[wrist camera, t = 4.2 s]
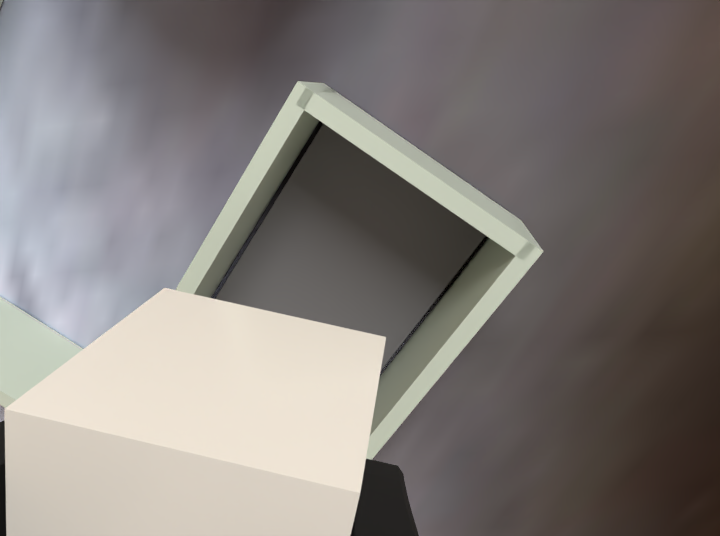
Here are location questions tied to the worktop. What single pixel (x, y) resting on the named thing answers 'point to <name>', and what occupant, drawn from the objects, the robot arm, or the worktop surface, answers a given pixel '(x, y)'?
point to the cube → (196, 427)
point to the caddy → (245, 207)
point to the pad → (351, 246)
